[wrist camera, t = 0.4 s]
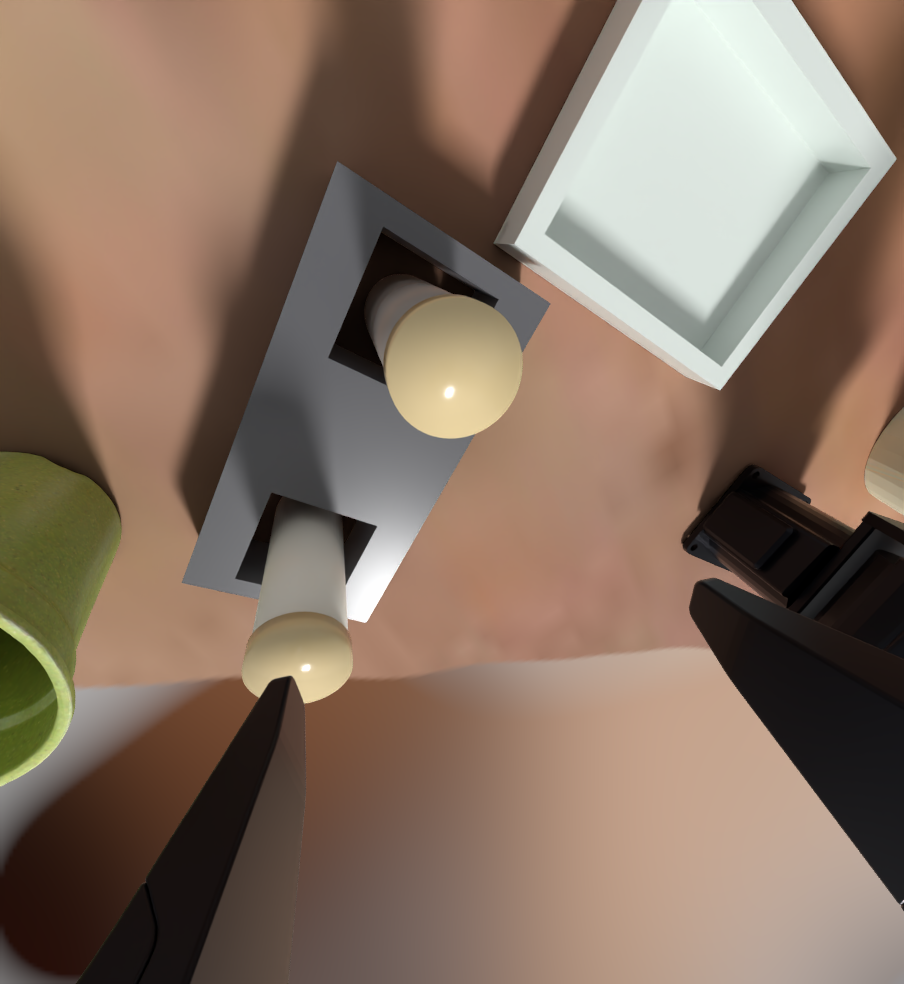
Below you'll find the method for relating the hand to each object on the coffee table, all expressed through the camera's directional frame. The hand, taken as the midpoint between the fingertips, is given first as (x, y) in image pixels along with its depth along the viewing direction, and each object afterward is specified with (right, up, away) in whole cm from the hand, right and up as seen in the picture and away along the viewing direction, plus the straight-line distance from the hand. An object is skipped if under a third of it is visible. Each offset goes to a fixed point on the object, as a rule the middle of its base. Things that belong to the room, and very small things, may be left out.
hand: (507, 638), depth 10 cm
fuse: (-8, +2, +11) cm, 14 cm away
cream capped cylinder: (-3, +10, +8) cm, 13 cm away
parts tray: (+8, +15, +9) cm, 19 cm away
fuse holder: (-6, +6, +10) cm, 13 cm away
